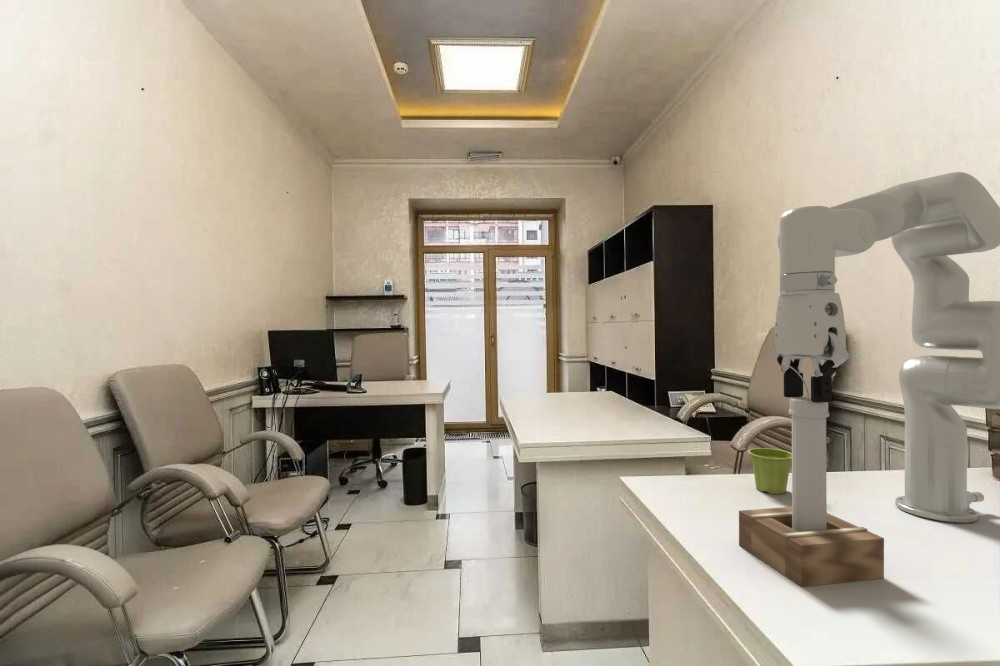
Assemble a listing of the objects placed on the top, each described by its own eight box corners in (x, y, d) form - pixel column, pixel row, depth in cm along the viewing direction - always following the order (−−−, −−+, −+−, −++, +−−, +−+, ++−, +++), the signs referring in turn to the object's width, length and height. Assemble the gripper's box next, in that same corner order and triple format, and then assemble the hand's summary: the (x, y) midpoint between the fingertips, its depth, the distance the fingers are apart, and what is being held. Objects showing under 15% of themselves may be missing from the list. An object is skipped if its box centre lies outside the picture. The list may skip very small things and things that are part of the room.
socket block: (810, 539, 88) (810, 503, 88) (883, 578, 74) (883, 536, 74) (739, 545, 86) (738, 508, 86) (801, 586, 72) (801, 543, 72)
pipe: (836, 558, 77) (835, 364, 77) (791, 555, 78) (790, 364, 78) (820, 543, 82) (820, 362, 82) (779, 540, 84) (778, 362, 83)
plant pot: (803, 497, 110) (803, 458, 110) (760, 497, 110) (760, 458, 110) (780, 484, 119) (780, 448, 119) (740, 484, 120) (740, 448, 120)
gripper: (875, 281, 72) (875, 406, 72) (788, 290, 89) (788, 392, 89) (830, 281, 71) (830, 408, 71) (750, 290, 87) (750, 393, 88)
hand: (806, 398), depth 80 cm, fingers closed on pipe, 5 cm apart
